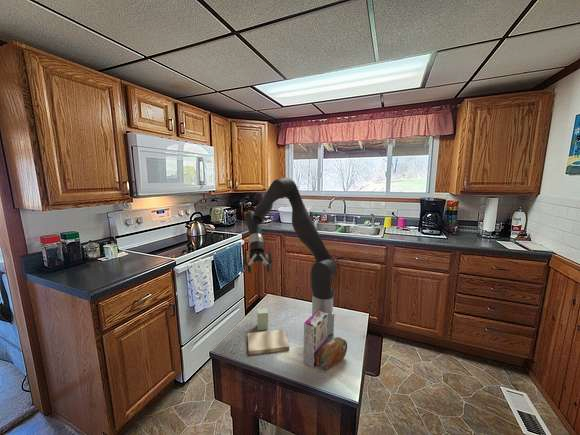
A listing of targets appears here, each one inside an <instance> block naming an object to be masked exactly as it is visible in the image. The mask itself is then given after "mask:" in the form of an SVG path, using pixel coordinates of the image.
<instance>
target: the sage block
mask: <svg viewBox="0 0 580 435" xmlns="http://www.w3.org/2000/svg"><path fill="white" fill-rule="evenodd" d="M256 318H257V320H256V326H257V331H267V330H268V329H269V311H268V308H267V307H262V308H257V310H256Z"/></svg>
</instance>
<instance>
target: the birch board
mask: <svg viewBox="0 0 580 435" xmlns="http://www.w3.org/2000/svg"><path fill="white" fill-rule="evenodd" d="M247 351H248V355H249V356H250V355H258V354H266V353H267V354H268V353H275V352H282V351H290V345H289V341H288V338H287V334H286V332H285V329H275V330H262V331H255V332H247Z"/></svg>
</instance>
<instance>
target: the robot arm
mask: <svg viewBox="0 0 580 435" xmlns="http://www.w3.org/2000/svg"><path fill="white" fill-rule="evenodd" d="M284 198H286V199H288V200H289V204H290V206H291V211H292V212H291V225H292V228H293V230H294V233H295V234H296V236H297V237H298V240H300V242H301V243H303V244H304V246H305V247H307V248H308V249H309V251H310V252H311V253H312V255H313V256H314V259H315V261H316V262H315V263H313V265H312V266H311V270H310V287H311V292H312V300H311V301H312V302H311V316H312V315H313V314H314V313H315V312H316V311H317V310H319V311H322V312H325V313H328V337H330V336H331V335H333V334H334V330H335V328H334V327H335V313H334V312H333V310H334V289H333V288H332V287H331V280H332V279H333V278H334V277H335V276H336V275H337V272H338V266H337V264H336V262H335V260H334V259H333V257H332V255H331V253H329V250H328V249H327V247H326V245H325V244H324V242H323V240H322V238H321V236H320V234H319V232H318V230H317V228H316V226H315V223H314V222H313V219H312V218H311V216H310V214H309V212H308V209H307V208H306V206H305V203H304V201H303V199H302V195H301V194H300V191H299V189H298V186H297V184H296V181H294V179H292V178H291V177H282V178H276V179H275V180H273V181H272V182H271V183H270V186H269V188H268V189H267V191H266V193H265V194H264V196H263V197H262V199H261V200H260V201H259V203H258V204H257V205H256V206H255V207H254V210H248V211H246V212H245V214H244V221H245V225H246V227H247V230H248V245H249V246H248V248H249V253H246V252H245V253H244V254H243V267H247V273H248V275H251V274H252V266H251V265H252V264H253V263H262V264H263V265H264V266H265V274H269V272H270V266H272V264H273V259H272V258H273V257H272V254H271V252H268V253H265V244H264V238H263V229H262V226H260V225H262V224H263V222H264V219H265V218H266V216H267V214H269V213H270V212H271V211H272V209H273V203H275V202H276V201H277V200H280V199H284ZM248 258H249V262H248V261H247V259H248ZM267 259H268V260H267Z"/></svg>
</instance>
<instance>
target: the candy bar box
mask: <svg viewBox="0 0 580 435" xmlns="http://www.w3.org/2000/svg"><path fill="white" fill-rule="evenodd" d="M303 325H304V328H303V364H305V365H306V366H309V367H311V368H313V369H315V368H316V367H318V366H317V363H316V358H317V353H318V351H319V349H320V348H321V347H322V346H323V345H325V344H326V343H328V337H329V336H328V313H325V312H322V311H319V310H317V311H316V312H315V313H314V314H313V315H312V314H311V316H309V318H308V319H307V320H305V321H304V322H303Z"/></svg>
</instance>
